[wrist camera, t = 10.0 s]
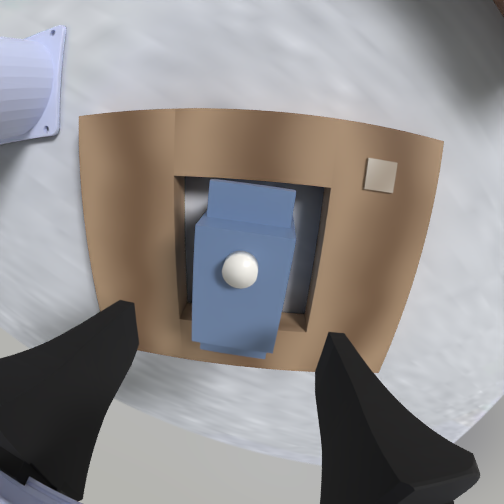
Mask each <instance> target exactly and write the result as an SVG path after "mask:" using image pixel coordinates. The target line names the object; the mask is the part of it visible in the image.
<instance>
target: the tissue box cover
mask: <svg viewBox="0 0 504 504" xmlns="http://www.w3.org/2000/svg"><path fill="white" fill-rule="evenodd" d="M493 1H494V3H495V4H496V6H497V7H498V9H499V10H500V12H501V14H502V15H503V17H504V0H493Z"/></svg>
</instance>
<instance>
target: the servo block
mask: <svg viewBox="0 0 504 504" xmlns="http://www.w3.org/2000/svg"><path fill="white" fill-rule="evenodd" d="M295 197H296V190H292V189H286V188H279V187H272V186H265V185H258V184H251V183H243V182H235V181H227V180H219V179H211V180H210V183H209V194H208V207H207V211H206V212H205V213H204V215H203V216H202V217H201V218H200V220H199V221H198V222H197V224H196V225H195V242H194V264H193V294H192V341H195V342H200V349H202V350H208V351H214V352H219V353H226V354H232V355H238V356H245V357H252V358H259V359H265V357H266V353H272V354H273V350H274V345H275V341H276V336H277V332H278V327H279V323H280V318H281V313H282V309H283V304H284V299H285V294H286V289H287V284H288V279H289V274H290V269H291V264H292V259H293V254H294V249H295V243H296V234H295V227H294V220H293V209H294V203H295Z"/></svg>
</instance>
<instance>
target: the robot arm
mask: <svg viewBox="0 0 504 504" xmlns="http://www.w3.org/2000/svg"><path fill="white" fill-rule="evenodd" d="M54 32H55V34H54ZM53 34H54V36H53ZM65 35H66V27H65V26H63V25H58V26H55V27H53V28H50V29H47V30H45V31H42V32H39V33H37V34H35V35H32V36H30V37H27V38H25V39H17V38H9V37H0V144H5V143H11V142H16V141H22V140H27V139H33V138H40V137H47V136H53V135H56V134H57V133H58V132H59V118H60V87H61V72H62V60H63V51H64V43H65ZM47 127H48V128H49V131H47ZM138 346H139V337H138V330H137V322H136V313H135V304H134V303H133V302H128V301H123V300H119V301H117V302H115V303H114V304H112V305H110V306H109V307H107V308H105V309H104V310H102V311H101V312H99V313H98V314H96V315H94V316H93V317H91V318H89V319H88V320H86V321H85V322H83V323H81V324H80V325H78V326H76V327H74V328H73V329H71V330H69V331H67V332H65V333H64V334H62V335H60V336H58V337H56V338H54V339H52V340H50V341H48V342H46V343H44V344H41V345H39V346H37V347H34V348H32V349H29V350H26V351H23V352H20V353H17V354H15V355H11V356H8V357H4V358H0V504H82V503H80V502H78V501H80V500H82V499H83V494H84V488H85V482H86V477H87V473H88V468H89V464H90V460H91V457H92V453H93V449H94V446H95V443H96V440H97V437H98V433H99V431H100V428H101V425H102V422H103V420H104V417H105V415H106V412H107V410H108V408H109V406H110V404H111V402H112V400H113V398H114V396H115V395H116V393H117V391H118V389H119V387H120V385H121V383H122V382H123V380H124V378H125V376H126V374H127V372H128V370H129V368H130V366H131V364H132V362H133V359H134V357H135V354H136V351H137V349H138ZM315 396H316V404H317V412H318V419H319V427H320V435H321V444H322V481H321V482H322V483H321V498H320V504H454V501H453V500H455V499H456V498H458V497H459V496H460V495H462V494H463V493H464V492H466V491H467V490H468V489H470V488H471V487H472V486H473V485H474V484H475V483H476V482H477V481H478V479H479V478H480V472H479V469H478V466H477V463H476V460H475V458H474V455H473V453H471V452H469V451H467V450H465V449H463V448H461V447H459V446H457V445H455V444H454V443H452V442H450V441H448V440H447V439H445V438H444V437H442V436H441V435H439V434H438V433H436V432H435V431H433V430H432V429H430V428H429V427H428V426H426V425H425V424H424V423H423V422H421V421H420V420H419V419H418V418H416V417H415V416H414V415H413V414H412V413H411V412H409V411H408V410H407V409H406V408H405V407H404V406H403V405H402V404H401V403H400V402H399V401H398V400H397V399H396V398H395V397H394V396H393V395H392V394H391V393H390V392H389V391H388V390H387V388H386V387H385V386H384V385H383V384H382V383H381V381H380V380H379V379H378V378H377V377H376V375H375V374H374V373H373V372H372V370H371V369H370V368H369V366H368V365H367V364H366V362H365V361H364V360H363V358H362V357H361V356H360V354H359V353H358V352H357V350H356V349H355V347H354V346H353V344H352V343H351V342H350V340H349V339H348V337H347V336H346V335H345V333H337V332H328V335H327V338H326V341H325V344H324V347H323V350H322V353H321V356H320V359H319V361H318V364H317V367H316V370H315Z"/></svg>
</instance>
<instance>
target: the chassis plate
mask: <svg viewBox="0 0 504 504" xmlns="http://www.w3.org/2000/svg"><path fill="white" fill-rule="evenodd" d="M443 145H444V141H440V140H437V139H433V138H429V137H425V136H421V135H417V134H413V133H409V132H405V131H400V130H396V129H391V128H386V127H381V126H376V125H371V124H366V123H360V122H354V121H348V120H342V119H335V118H328V117H321V116H313V115H305V114H295V113H285V112H274V111H260V110H242V109H208V108H187V109H154V110H136V111H123V112H112V113H102V114H93V115H85V116H79V158H80V177H81V191H82V202H83V212H84V221H85V229H86V236H87V243H88V250H89V256H90V262H91V268H92V274H93V279H94V284H95V289H96V294H97V299H98V303H99V308H100V312H101V311H102V310H104V309H105V308H107V307H109V306H110V305H112V304H114V303H115V302H117V301H119V300H123V301H128V302H133V303H134V304H135V313H136V322H137V330H138V337H139V346H138V349H137V350H140V351H145V352H150V353H155V354H160V355H166V356H172V357H178V358H184V359H190V360H197V361H204V362H211V363H219V364H227V365H235V366H244V367H254V368H265V369H277V370H291V371H308V372H315V370H316V367H317V364H318V361H319V359H320V356H321V353H322V350H323V347H324V344H325V341H326V338H327V335H328V332H337V333H345V335H346V336H347V337H348V339H349V340H350V342H351V343H352V344H353V346H354V347H355V349H356V350H357V352H358V353H359V354H360V356H361V357H362V358H363V360H364V361H365V362H366V364H367V365H368V366H369V368H370V369H371V370H372V372H373V373H379V370H380V368H381V366H382V364H383V361H384V359H385V357H386V354H387V352H388V349H389V347H390V345H391V342H392V340H393V337H394V334H395V332H396V329H397V327H398V324H399V321H400V319H401V316H402V313H403V310H404V307H405V305H406V302H407V299H408V296H409V293H410V290H411V287H412V283H413V280H414V277H415V274H416V270H417V267H418V264H419V260H420V257H421V253H422V249H423V246H424V242H425V238H426V234H427V230H428V226H429V222H430V217H431V213H432V208H433V204H434V199H435V194H436V189H437V183H438V178H439V172H440V166H441V159H442V152H443ZM185 176H195V177H215V178H231V179H246V180H259V181H270V182H282V183H292V184H302V185H311V186H320V187H324V195H323V203H322V210H321V217H320V224H319V231H318V238H317V244H316V251H315V257H314V263H313V269H312V275H311V281H310V287H309V293H308V298H307V304H306V309H305V314H297V313H285V312H282V313H281V318H280V323H279V327H278V332H277V336H276V341H275V345H274V350H273V354H272V353H266V357H265V359H259V358H252V357H245V356H238V355H232V354H226V353H219V352H214V351H208V350H202V349H200V342H195V341H192V303H189V302H187V284H186V257H185Z"/></svg>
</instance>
